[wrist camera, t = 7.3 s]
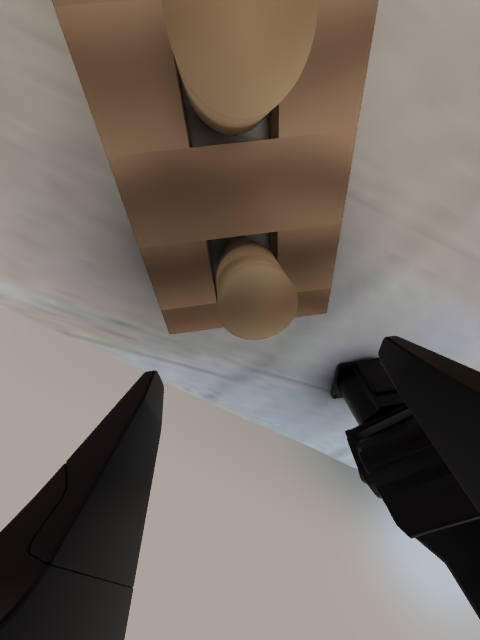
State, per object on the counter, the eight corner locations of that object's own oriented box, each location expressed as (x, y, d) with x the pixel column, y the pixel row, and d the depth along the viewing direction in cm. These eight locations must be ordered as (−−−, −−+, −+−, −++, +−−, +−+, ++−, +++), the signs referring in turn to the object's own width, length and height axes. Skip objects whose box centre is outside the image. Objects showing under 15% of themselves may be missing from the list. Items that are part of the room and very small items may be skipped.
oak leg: (268, 279, 20) (296, 334, 13) (218, 285, 20) (222, 345, 13) (267, 226, 17) (302, 263, 11) (210, 233, 17) (210, 275, 11)
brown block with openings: (316, 299, 22) (361, 357, 15) (173, 318, 21) (156, 386, 15) (364, -78, 10) (639, -515, 4) (52, -55, 10) (-278, -515, 3)
